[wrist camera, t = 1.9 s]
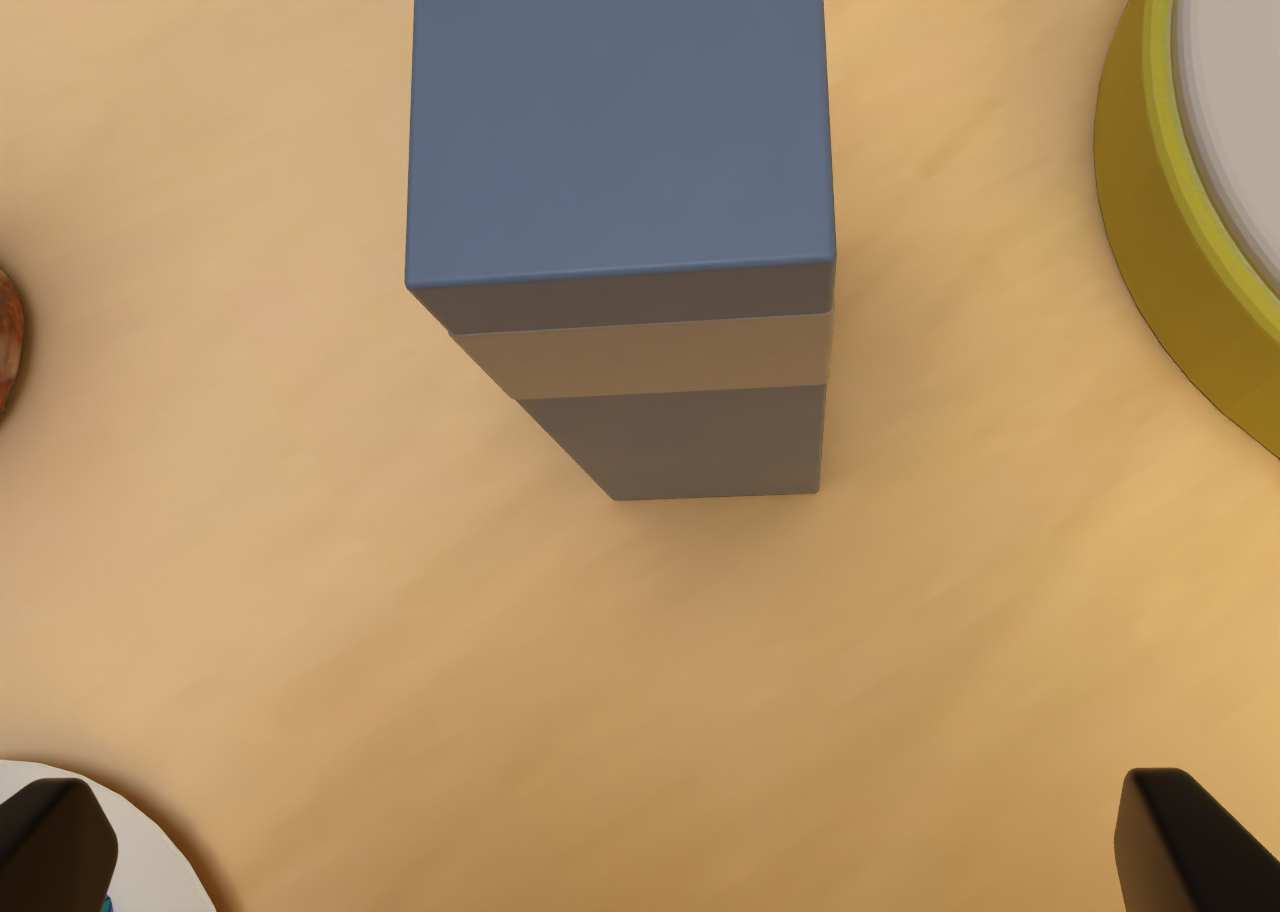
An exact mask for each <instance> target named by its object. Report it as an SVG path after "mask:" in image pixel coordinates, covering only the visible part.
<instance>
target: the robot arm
mask: <svg viewBox="0 0 1280 912" xmlns="http://www.w3.org/2000/svg"><path fill="white" fill-rule="evenodd" d="M1114 849H1115V859H1116V865H1117V870H1118V875H1119V880H1120V884H1121V889H1122V894H1123V898H1124V903H1125V908H1126V912H1280V862H1279V861H1278V860H1277V859H1276V858H1275V857H1274V856H1273V855H1272V854H1271V853H1270V852H1269V851H1268V850H1267V849H1266V848H1265V847H1264V846H1263V845H1262V844H1261V843H1260V842H1259V841H1257V840H1256V839H1255V838H1254V837H1253V836H1252V835H1251V834H1250V833H1249V832H1248V831H1247V830H1246V829H1245V828H1244V827H1243V826H1242V825H1241V824H1240V823H1239V822H1238V821H1237V820H1236V819H1235V818H1234V817H1233V816H1232V815H1231V814H1230V813H1229V812H1228V811H1227V810H1226V809H1225V808H1224V807H1223V806H1222V805H1221V804H1220V803H1219V802H1217V801H1216V800H1215V799H1214V798H1213V797H1212V796H1211V795H1210V794H1209V793H1208V792H1207V791H1206V790H1205V789H1204V788H1203V787H1202V786H1201V785H1200V784H1199V783H1198V782H1197V781H1196V780H1195V779H1194V778H1193V777H1192V776H1191V775H1189V774H1188V773H1187V772H1185V771H1183V770H1181V769H1179V768H1134V769H1131V770H1130V771H1128V773H1127V775H1126V776H1125V779H1124V783H1123V788H1122V794H1121V800H1120V806H1119V811H1118V817H1117V823H1116V829H1115V835H1114ZM117 858H118V840H117V836H116V833H115V831H114V829H113V827H112V826H111V824H110V822H109V820H108V818H107V816H106V815H105V813H104V811H103V809H102V807H101V805H100V804H99V802H98V800H97V798H96V796H95V794H94V793H93V791H92V789H91V787H90V786H89V785H88V783H86V782H85V781H83V780H82V779H80V778H41V779H38V780H35V781H33V782H31V783H29V784H28V785H26V786H25V787H23V788H22V789H21V790H19V791H18V792H17V793H15V794H14V795H13V796H11V797H10V798H8V799H7V800H6V801H4V802H3V803H2V804H0V912H101V910H102V907H103V904H104V901H105V898H106V895H107V892H108V889H109V886H110V883H111V879H112V876H113V873H114V870H115V867H116V863H117Z"/></svg>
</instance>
